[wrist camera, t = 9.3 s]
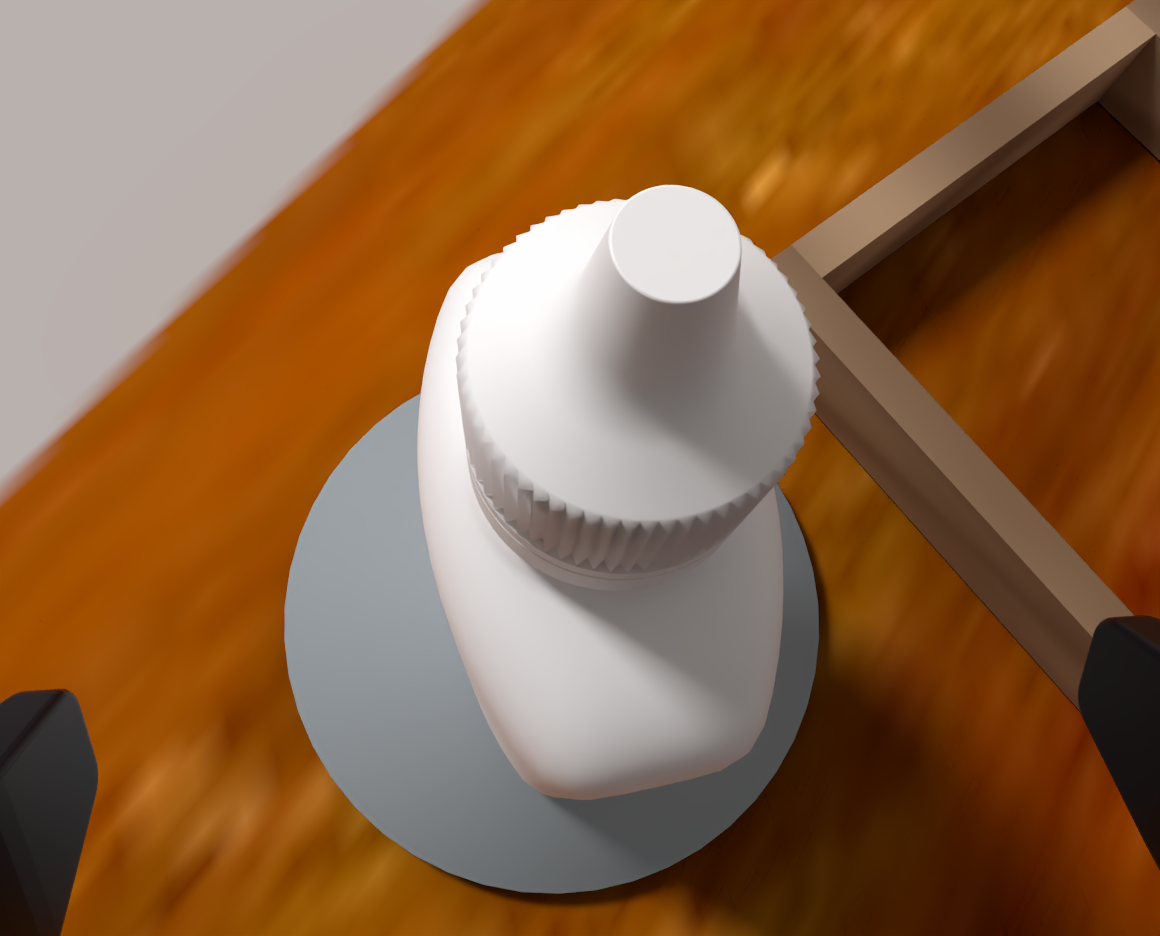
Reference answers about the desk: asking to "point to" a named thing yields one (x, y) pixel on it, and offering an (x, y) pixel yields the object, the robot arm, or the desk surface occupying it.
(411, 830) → the rubber coaster
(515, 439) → the eye dropper bottle
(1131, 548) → the desk surface
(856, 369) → the walnut collar
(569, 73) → the desk surface
